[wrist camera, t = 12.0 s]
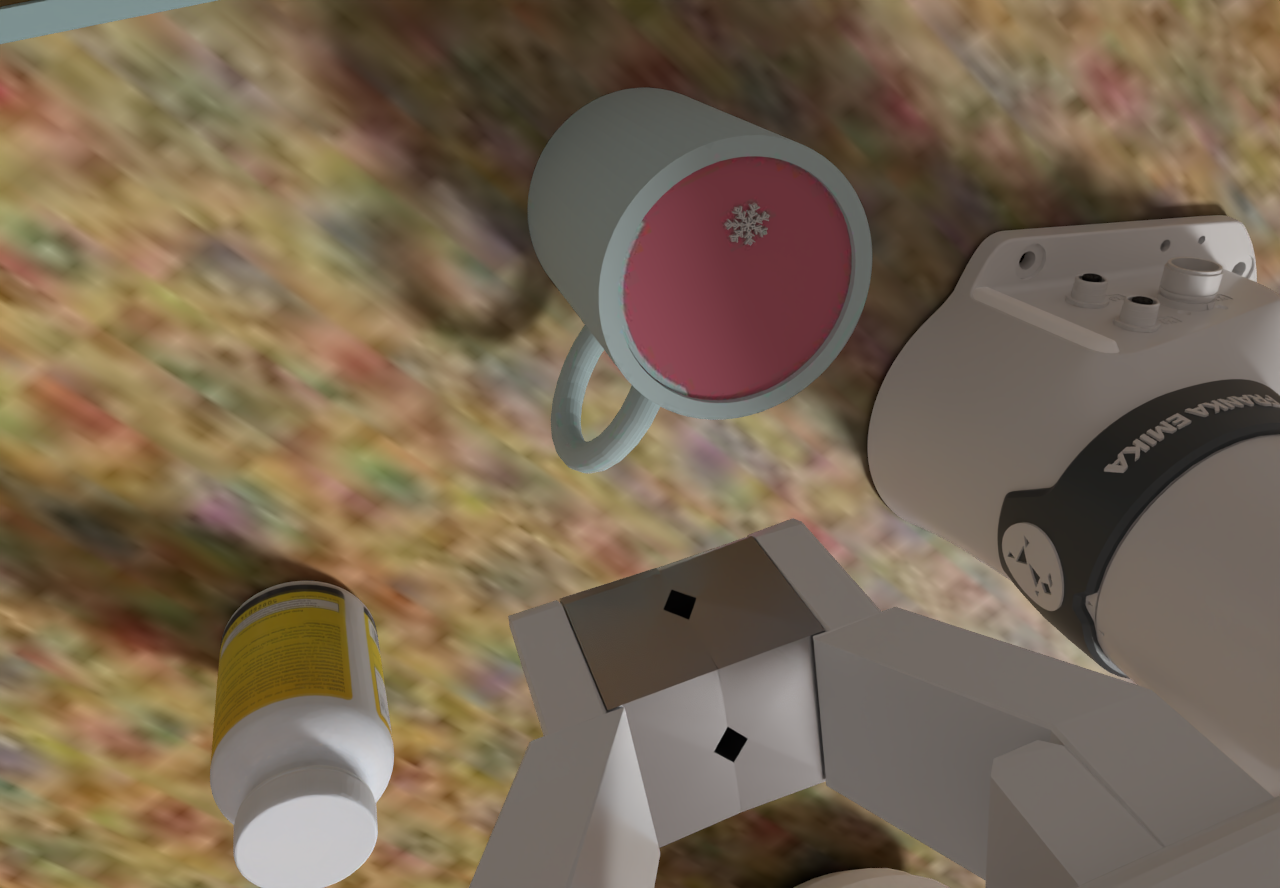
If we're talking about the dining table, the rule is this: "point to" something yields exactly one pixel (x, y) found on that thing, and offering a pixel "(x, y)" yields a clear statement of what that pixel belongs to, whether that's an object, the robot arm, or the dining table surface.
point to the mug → (692, 262)
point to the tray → (74, 15)
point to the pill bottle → (301, 735)
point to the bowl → (871, 880)
